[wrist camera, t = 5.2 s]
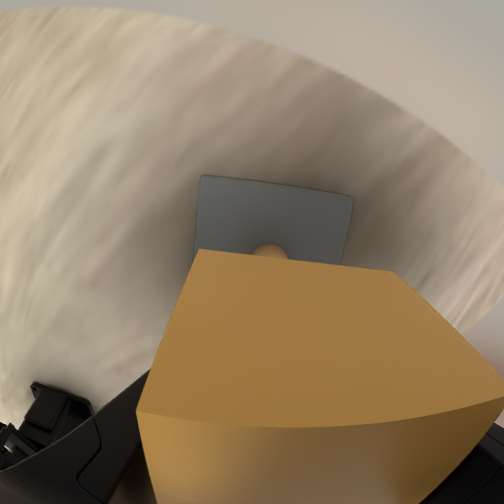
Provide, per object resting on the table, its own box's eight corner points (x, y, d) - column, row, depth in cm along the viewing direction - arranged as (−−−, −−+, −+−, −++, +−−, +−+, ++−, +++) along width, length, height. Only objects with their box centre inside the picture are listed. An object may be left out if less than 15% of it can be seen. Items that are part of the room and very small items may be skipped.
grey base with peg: (319, 321, 19) (340, 372, 14) (191, 308, 18) (177, 359, 13) (348, 195, 16) (387, 214, 12) (203, 174, 16) (185, 184, 11)
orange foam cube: (342, 407, 10) (383, 531, 5) (191, 400, 10) (169, 541, 4) (393, 271, 8) (514, 392, 3) (199, 248, 8) (136, 410, 3)
